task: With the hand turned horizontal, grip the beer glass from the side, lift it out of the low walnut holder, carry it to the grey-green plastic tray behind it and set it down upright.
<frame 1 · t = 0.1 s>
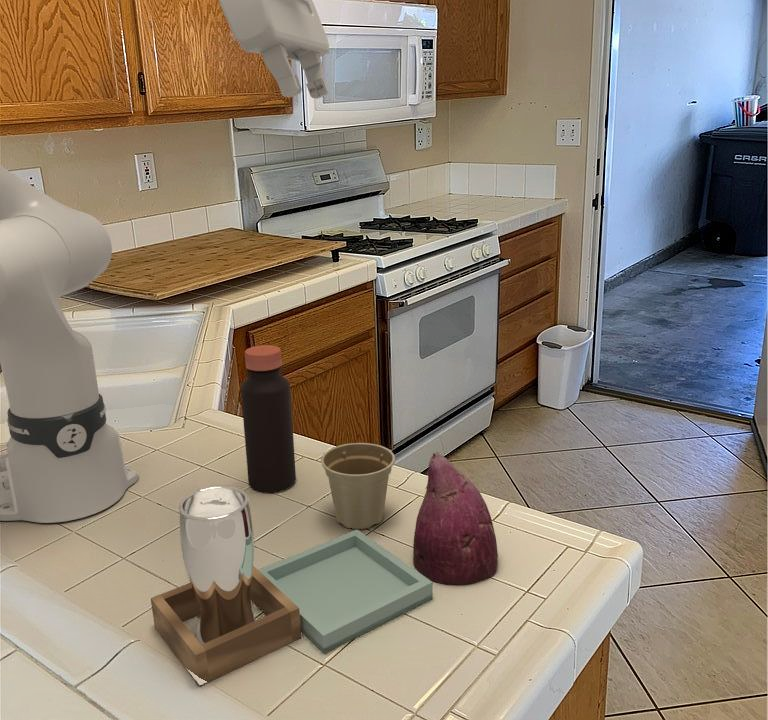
hand: (307, 96, 81), 52 cm above the countertop, tool tilted 20°, fingers open, 8 cm apart
bottle: (272, 484, 109), on the countertop
holder: (226, 632, 77), on the countertop
flower pot: (360, 519, 99), on the countertop
beer glass: (227, 633, 77), resting in holder
tray: (342, 593, 83), on the countertop
vegetable: (455, 561, 89), on the countertop
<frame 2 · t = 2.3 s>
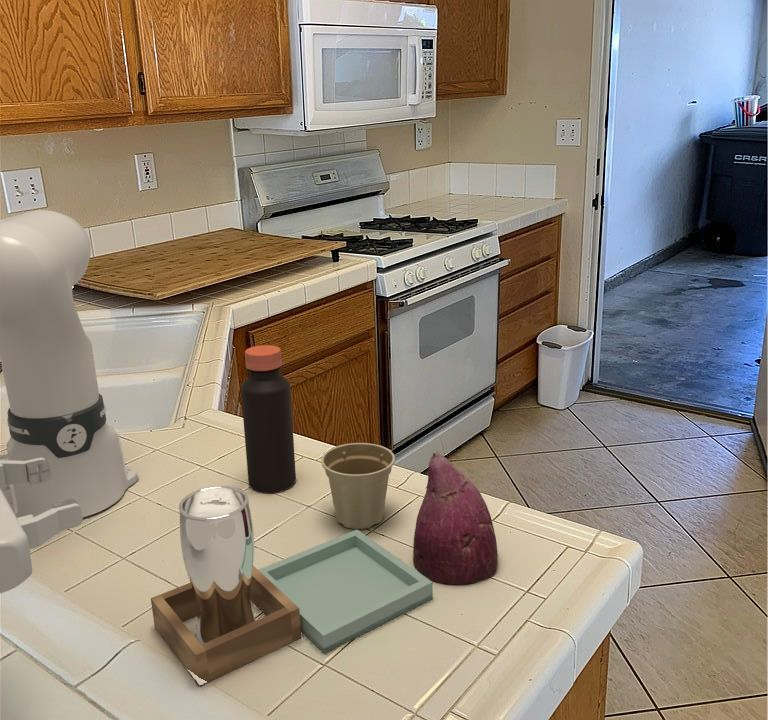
hand: (63, 488, 63), 21 cm above the countertop, tool horizontal, fingers open, 8 cm apart
nothing on the countertop moved.
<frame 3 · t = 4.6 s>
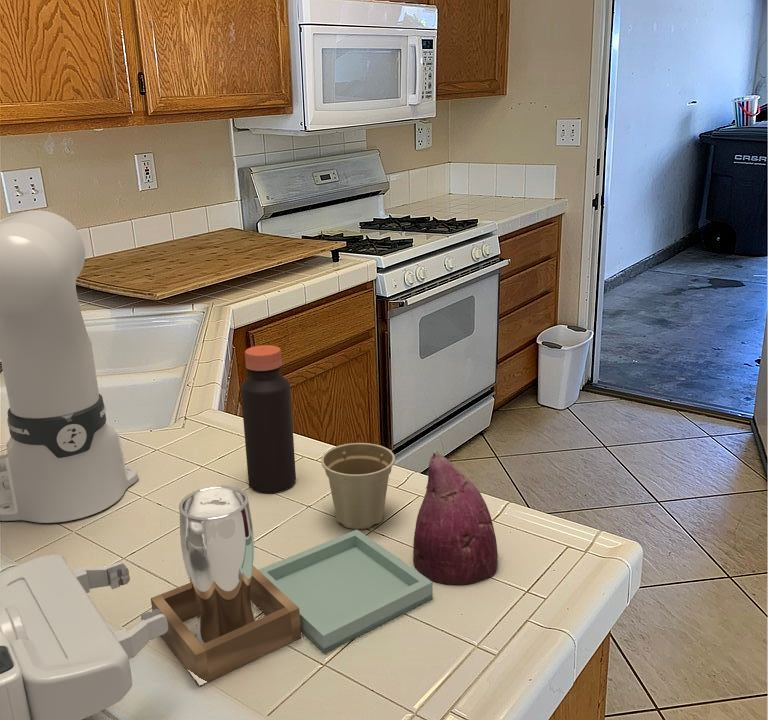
hand: (144, 594, 70), 8 cm above the countertop, tool horizontal, fingers open, 8 cm apart
nothing on the countertop moved.
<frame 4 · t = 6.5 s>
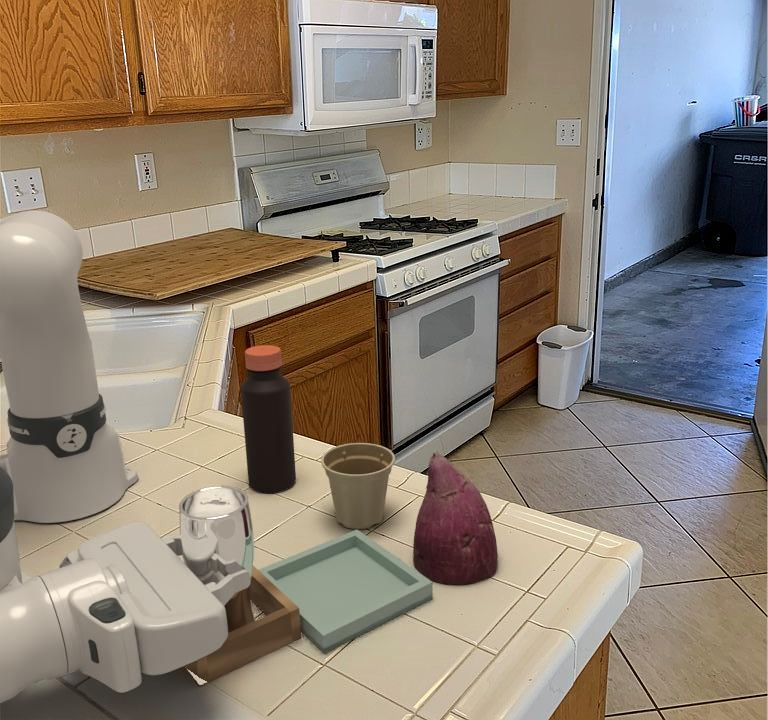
hand: (227, 556, 75), 9 cm above the countertop, tool horizontal, fingers closed on beer glass, 7 cm apart
beer glass: (227, 633, 77), resting in holder, touching gripper
everything else where it was.
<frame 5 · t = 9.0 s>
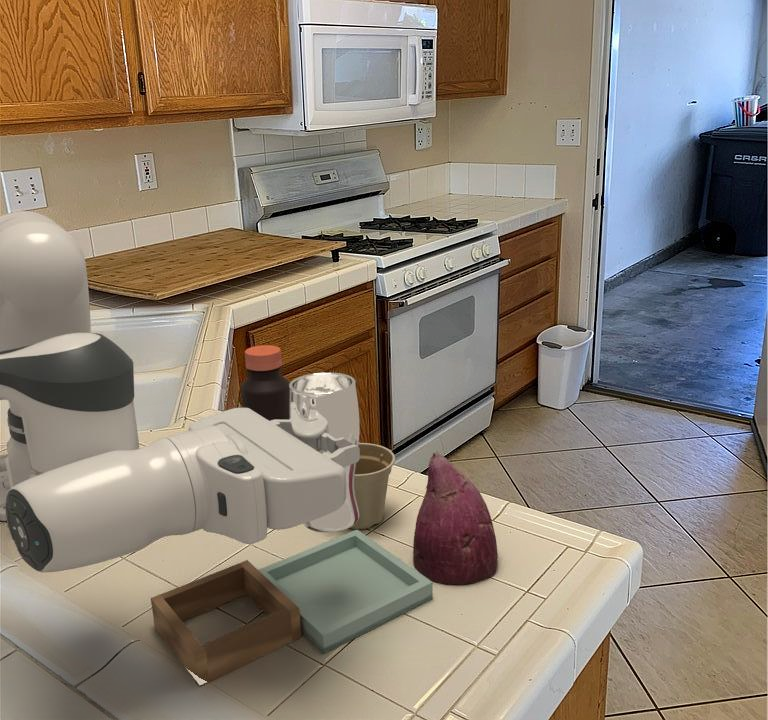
hand: (333, 437, 77), 19 cm above the countertop, tool horizontal, fingers closed on beer glass, 7 cm apart
beer glass: (330, 519, 79), point 10 cm above the countertop, touching gripper
everything else where it was.
when the fingers open (10 cm above the countertop, at t = 11.4 s): beer glass stays where it is, resting on tray.
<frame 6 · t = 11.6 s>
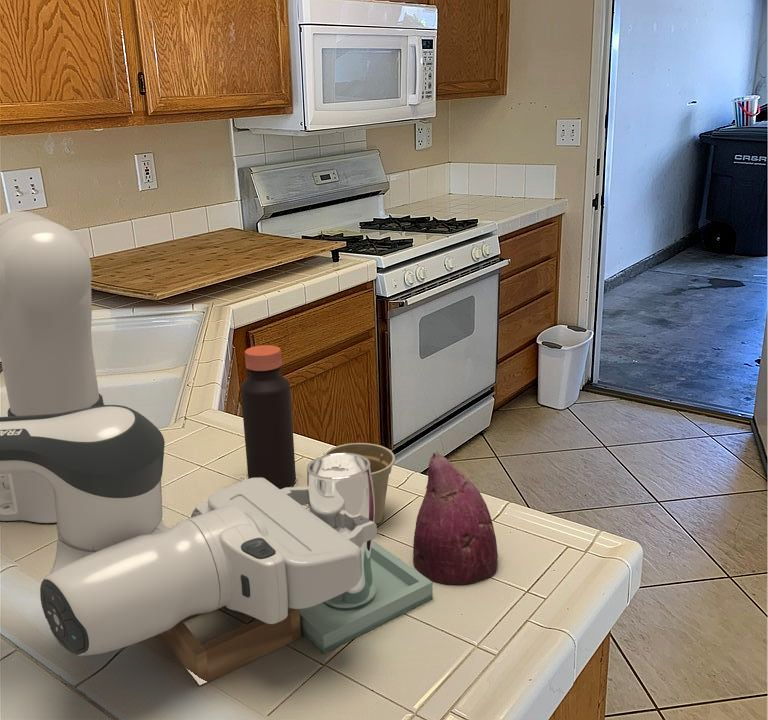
hand: (346, 508, 81), 10 cm above the countertop, tool horizontal, fingers open, 8 cm apart
beer glass: (348, 593, 82), point 1 cm above the countertop, touching gripper, tray
everything else where it was.
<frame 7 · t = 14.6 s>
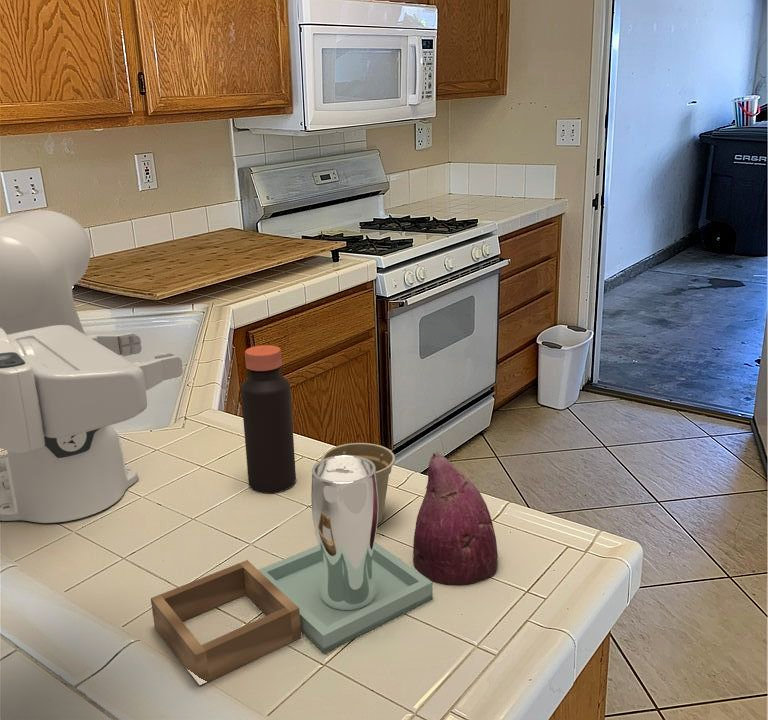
hand: (157, 352, 68), 30 cm above the countertop, tool horizontal, fingers open, 8 cm apart
beer glass: (348, 595, 82), resting on tray
everything else where it was.
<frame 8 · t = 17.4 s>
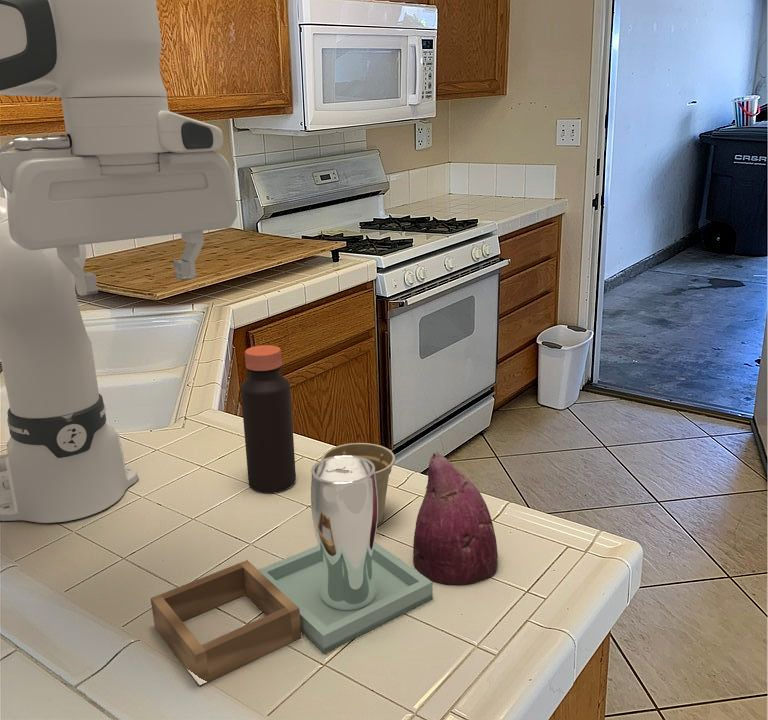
hand: (138, 286, 71), 35 cm above the countertop, tool pointing down, fingers open, 8 cm apart
nothing on the countertop moved.
at the end: beer glass inside the target area on the tray (1.2 cm from its centre), point 0.4 cm above the tray's base; beer glass tilted 0°; the gripper is holding nothing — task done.
